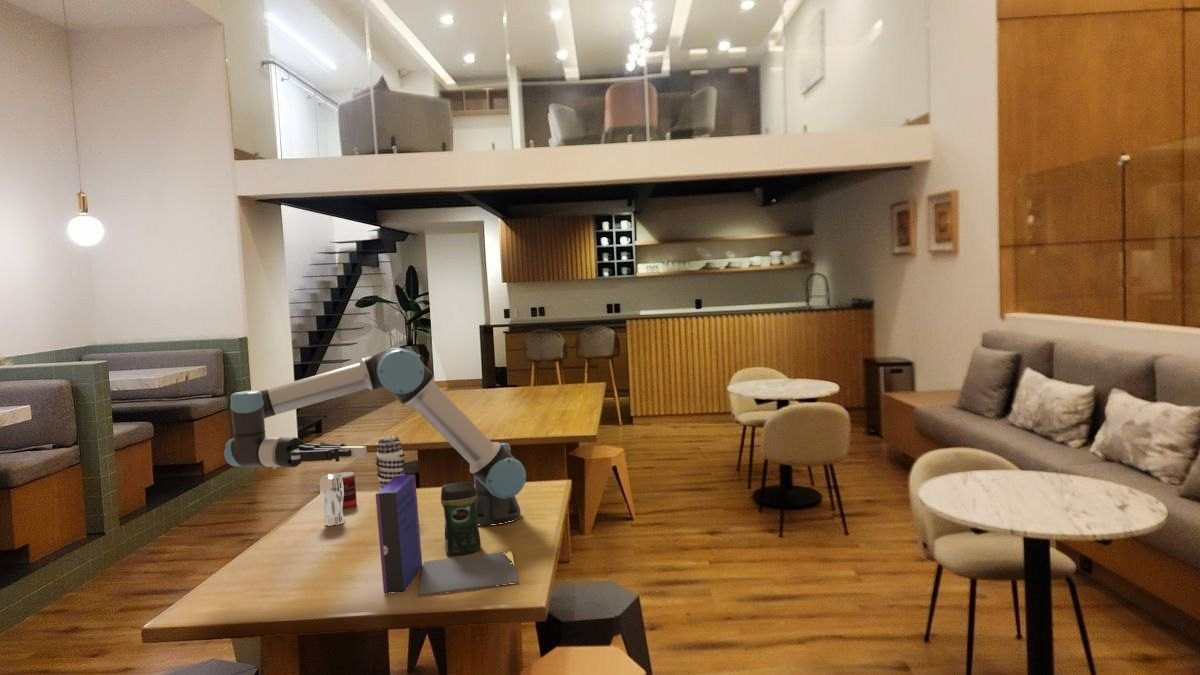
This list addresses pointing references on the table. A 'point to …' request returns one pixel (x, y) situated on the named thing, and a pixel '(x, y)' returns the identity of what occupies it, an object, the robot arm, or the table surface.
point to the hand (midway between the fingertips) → (364, 452)
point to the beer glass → (332, 498)
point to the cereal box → (399, 533)
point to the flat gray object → (466, 573)
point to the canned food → (349, 489)
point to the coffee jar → (460, 518)
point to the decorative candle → (389, 459)
